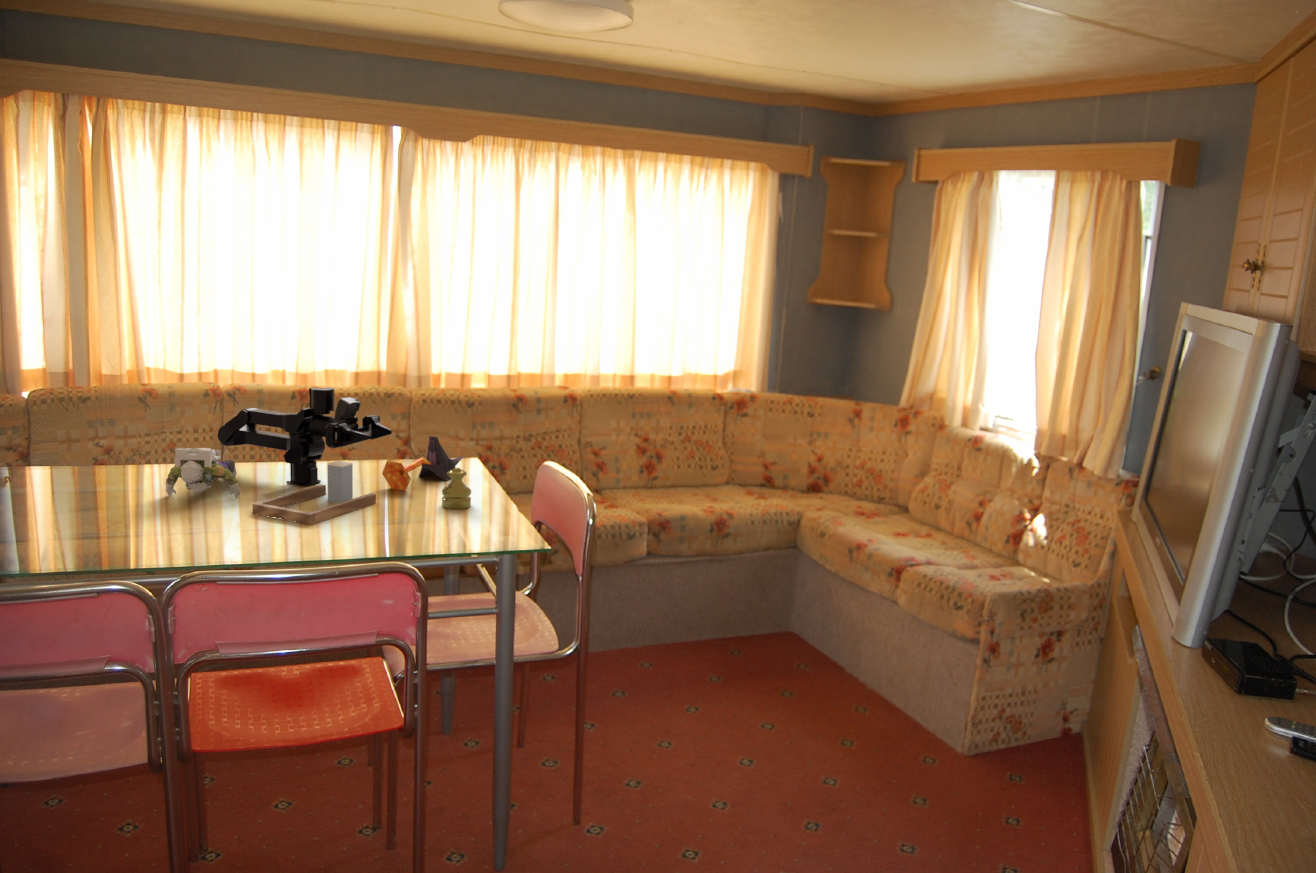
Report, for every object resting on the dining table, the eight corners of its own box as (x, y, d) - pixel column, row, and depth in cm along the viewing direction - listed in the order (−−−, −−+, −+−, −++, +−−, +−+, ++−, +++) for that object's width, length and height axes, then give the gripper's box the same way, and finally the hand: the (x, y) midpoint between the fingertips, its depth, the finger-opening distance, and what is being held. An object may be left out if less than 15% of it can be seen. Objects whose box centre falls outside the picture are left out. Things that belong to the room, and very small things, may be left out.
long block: (327, 501, 235) (327, 463, 233) (338, 498, 239) (338, 460, 237) (342, 503, 234) (341, 465, 232) (352, 500, 237) (352, 462, 236)
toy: (188, 494, 248) (146, 499, 219) (189, 447, 249) (148, 446, 219) (257, 494, 251) (226, 500, 222) (259, 449, 252) (228, 448, 222)
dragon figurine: (378, 458, 250) (432, 425, 271) (384, 498, 254) (438, 462, 275) (410, 463, 246) (463, 429, 267) (416, 504, 250) (467, 467, 272)
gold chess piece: (455, 500, 243) (456, 463, 241) (477, 505, 239) (477, 468, 237) (435, 506, 237) (436, 468, 235) (457, 511, 233) (457, 473, 231)
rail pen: (252, 514, 221) (252, 503, 220) (321, 493, 242) (321, 484, 242) (310, 525, 214) (310, 514, 214) (375, 503, 236) (375, 493, 236)
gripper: (306, 401, 235) (356, 408, 230) (355, 393, 252) (402, 400, 247) (306, 444, 237) (356, 452, 232) (355, 433, 254) (402, 440, 249)
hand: (380, 434), depth 240 cm, fingers open, 9 cm apart
